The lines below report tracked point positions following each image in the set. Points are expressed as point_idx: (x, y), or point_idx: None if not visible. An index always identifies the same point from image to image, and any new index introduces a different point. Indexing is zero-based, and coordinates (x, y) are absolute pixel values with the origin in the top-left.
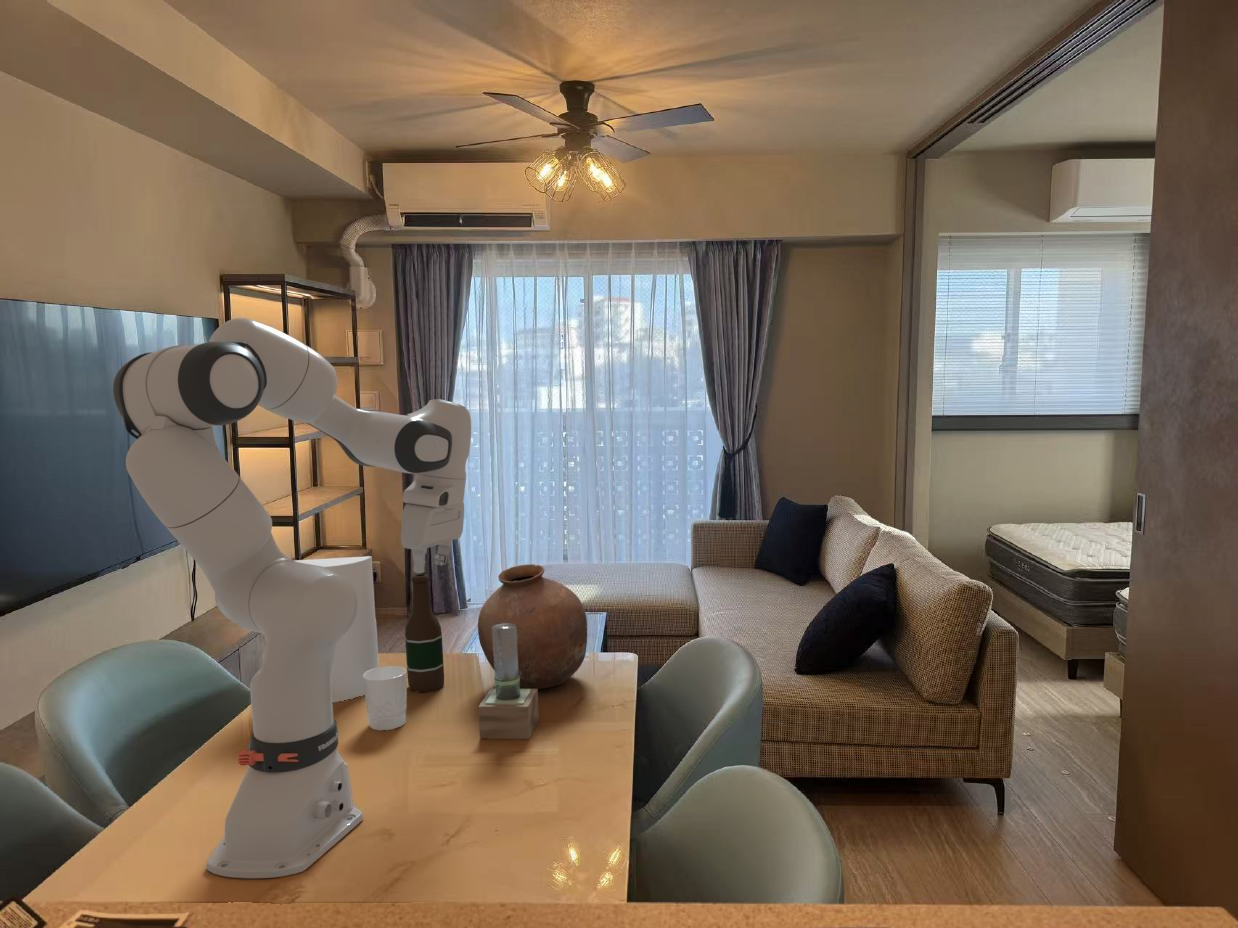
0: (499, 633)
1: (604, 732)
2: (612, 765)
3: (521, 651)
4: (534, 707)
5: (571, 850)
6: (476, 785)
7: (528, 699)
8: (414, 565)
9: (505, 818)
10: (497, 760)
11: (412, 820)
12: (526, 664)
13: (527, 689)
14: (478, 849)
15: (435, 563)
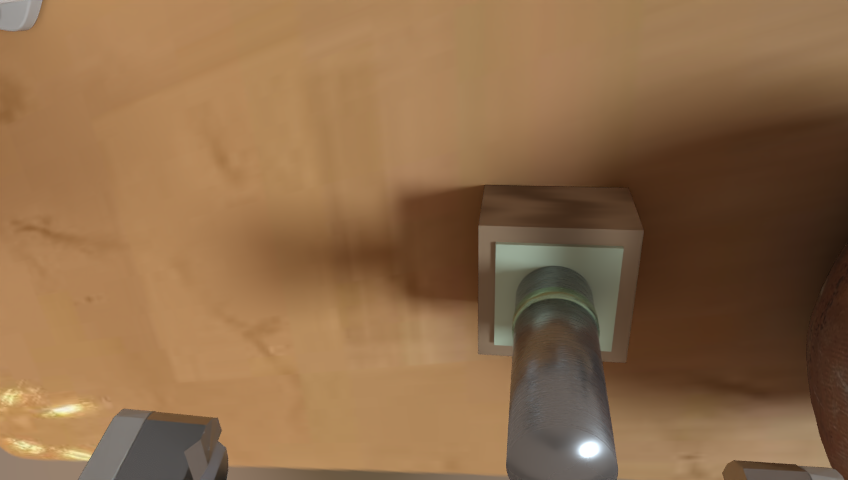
0: (507, 448)
1: None
2: (363, 455)
3: (820, 355)
4: None
5: (74, 407)
6: (235, 231)
7: None
8: (88, 467)
9: (129, 307)
10: (361, 251)
11: (66, 140)
12: (811, 333)
13: (607, 342)
14: (25, 282)
15: (731, 468)
